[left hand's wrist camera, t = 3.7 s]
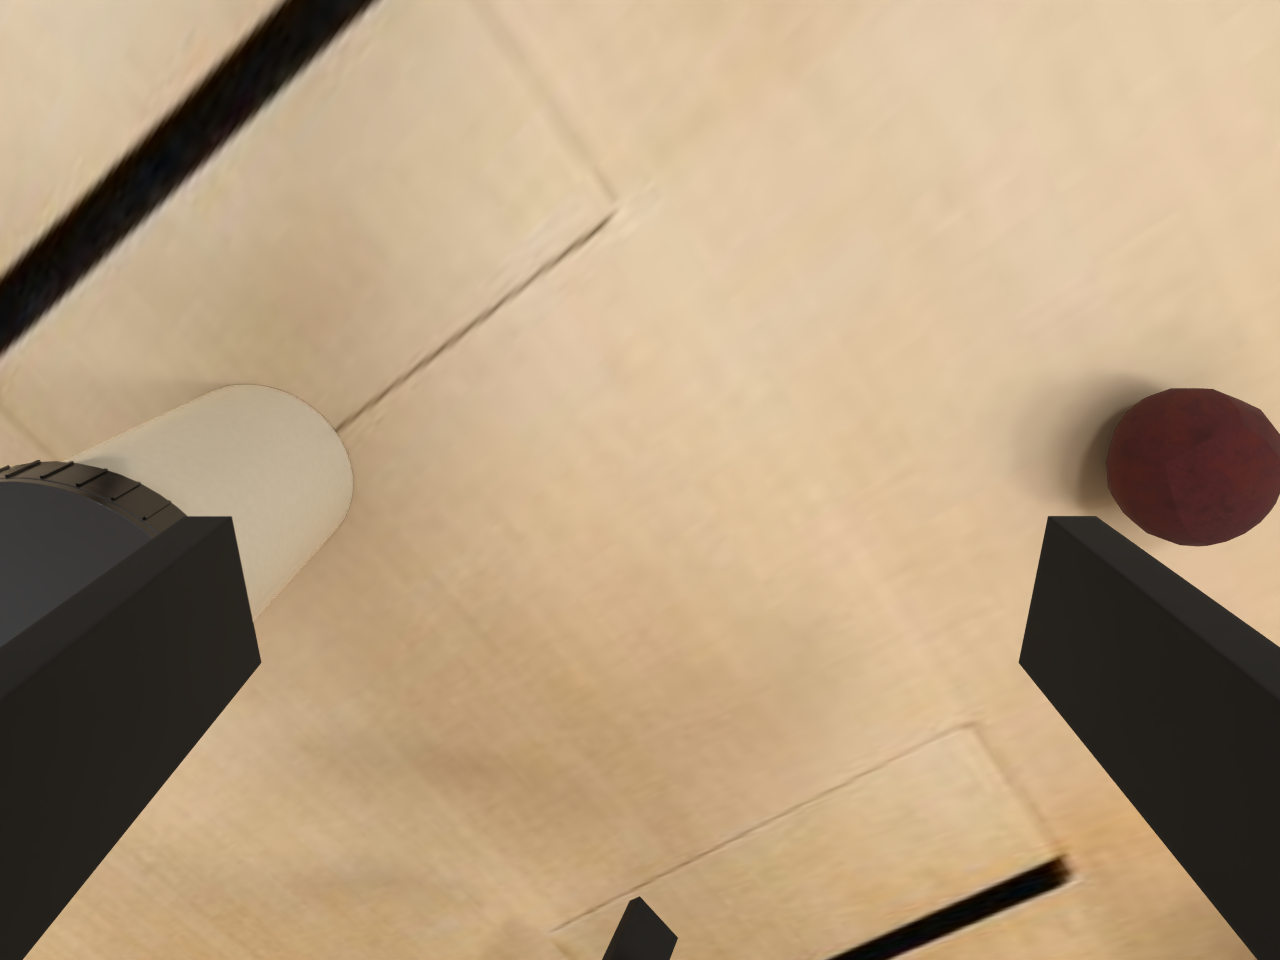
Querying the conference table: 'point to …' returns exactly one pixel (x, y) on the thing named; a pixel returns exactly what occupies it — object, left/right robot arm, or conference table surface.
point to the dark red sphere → (1194, 466)
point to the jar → (243, 475)
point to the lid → (67, 533)
